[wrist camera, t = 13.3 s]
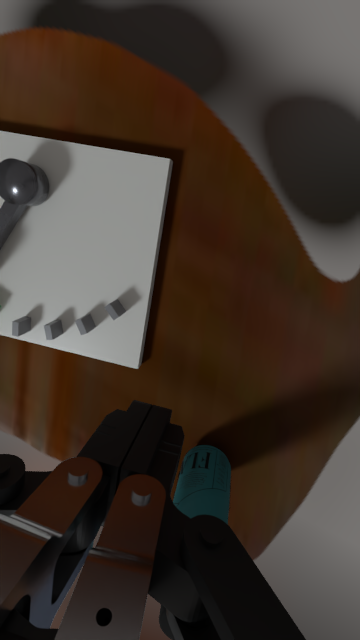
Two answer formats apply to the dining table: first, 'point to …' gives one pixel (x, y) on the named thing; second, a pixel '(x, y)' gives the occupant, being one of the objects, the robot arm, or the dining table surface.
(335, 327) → the dining table surface
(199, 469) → the beverage bottle
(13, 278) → the dial board
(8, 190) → the lever
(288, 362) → the dining table surface
